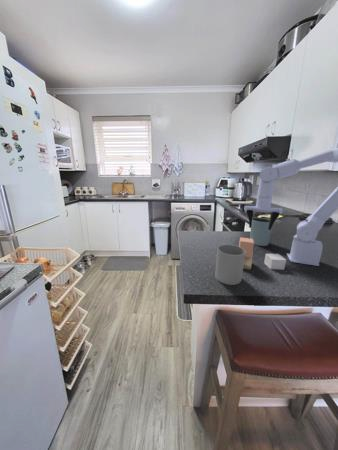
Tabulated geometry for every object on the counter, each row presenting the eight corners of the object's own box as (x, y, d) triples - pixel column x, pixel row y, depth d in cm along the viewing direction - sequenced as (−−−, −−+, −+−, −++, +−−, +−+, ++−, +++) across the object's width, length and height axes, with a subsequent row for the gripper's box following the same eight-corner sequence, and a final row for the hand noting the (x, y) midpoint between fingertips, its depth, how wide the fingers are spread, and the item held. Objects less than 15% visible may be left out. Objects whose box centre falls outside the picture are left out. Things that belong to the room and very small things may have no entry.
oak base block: (251, 263, 74) (252, 253, 72) (250, 270, 68) (252, 260, 67) (234, 260, 76) (236, 250, 75) (233, 266, 71) (234, 256, 69)
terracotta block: (250, 253, 73) (252, 238, 71) (251, 258, 68) (254, 242, 67) (238, 251, 74) (240, 237, 72) (238, 256, 70) (240, 241, 68)
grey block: (276, 263, 74) (278, 254, 73) (284, 269, 69) (286, 259, 68) (264, 263, 74) (265, 253, 73) (270, 269, 69) (272, 259, 68)
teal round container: (264, 248, 88) (268, 223, 85) (243, 242, 96) (247, 218, 92) (273, 243, 95) (277, 220, 91) (253, 238, 102) (256, 216, 99)
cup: (221, 268, 68) (224, 242, 66) (244, 276, 63) (248, 249, 61) (210, 278, 62) (213, 250, 59) (235, 288, 57) (239, 257, 54)
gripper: (282, 197, 81) (276, 227, 84) (245, 194, 85) (241, 224, 89) (286, 199, 74) (279, 232, 78) (246, 196, 79) (242, 228, 82)
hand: (259, 228), depth 83 cm, fingers open, 7 cm apart
